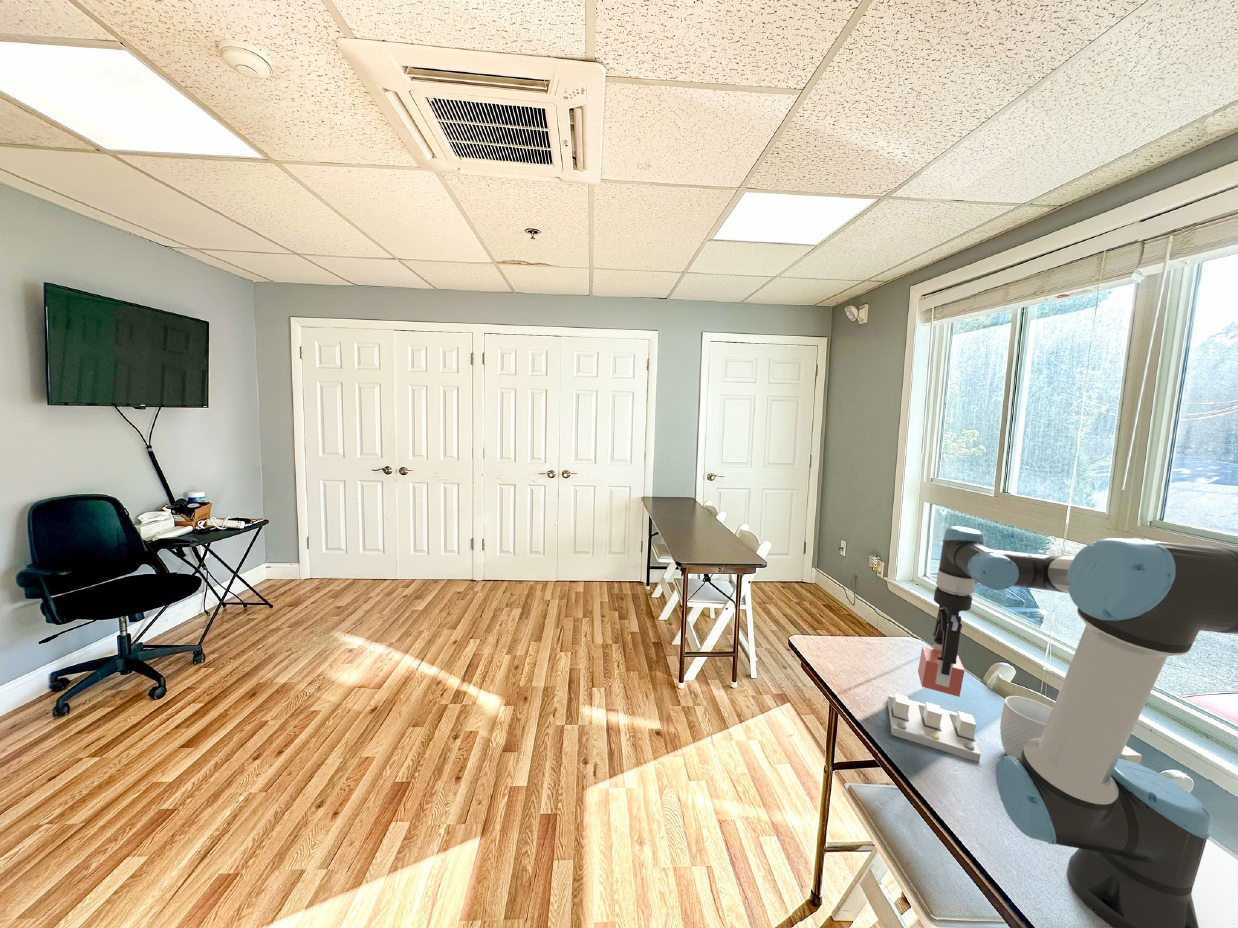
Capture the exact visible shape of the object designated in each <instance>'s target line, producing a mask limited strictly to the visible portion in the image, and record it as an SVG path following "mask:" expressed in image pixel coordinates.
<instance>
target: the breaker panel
mask: <svg viewBox="0 0 1238 928" xmlns="http://www.w3.org/2000/svg"><path fill="white" fill-rule="evenodd" d="M894 695H895V694H891V693H888V694H887V707H888V714H889V722H890V723H889V724H890V733H891V736H895V737H898V738H902V739H905V740H908V741H911V742H914V743H918V744H920V745H923V746H927V747H930V748H933V749H937V750H940V751H942V752H945V753H949V754H952V755H955V756H957V757H962V758H965V759H968V760H971V761H974V762H977V763H980V760H981V756H982V755H981V751H980V749H979V746H978V744H977V741H976V739H975V737H974V739H970V738H966V737H963V736H960V735H958V732H957V729H956V726H955V725H956V720H957V714H958V712H956V711H951V710H947V709H945V708H941V707H940V710H941V713H942V717H941V723H940V728H939V729H937V728H934V727H931V726H927V725H925V721H924V717H923V714H924V708H925V703H922V702H919V701H916V700H912V699H909V698H908V700H909V705H910V706H909V712H908V718H907V720H906V719H903V718H900V717H896V716H894V714H893V701H894Z"/></svg>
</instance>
